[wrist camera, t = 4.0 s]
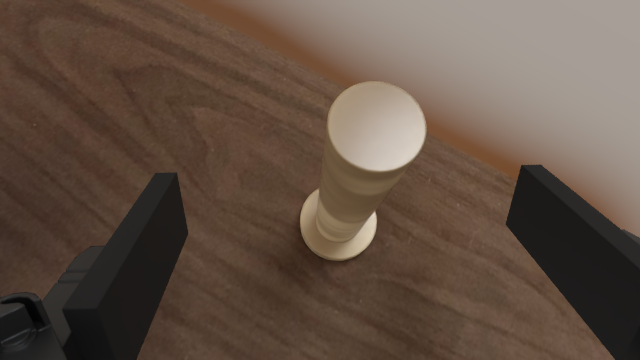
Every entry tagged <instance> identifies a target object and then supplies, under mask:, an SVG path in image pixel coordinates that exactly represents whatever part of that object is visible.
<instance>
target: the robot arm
mask: <svg viewBox="0 0 640 360" xmlns="http://www.w3.org/2000/svg"><path fill="white" fill-rule="evenodd" d="M506 225H507V227H508V228H509V229H510V230H511V232H512V233H513V234H514V235H515V236H516V238H517V239H518V240H519V241H520V243H521V244H522V245H523V246H524V248H525V249H526V250H527V251H528V253H529V254H530V255H531V256H532V257H533V259H534V260H535V261H536V262H537V264H538V265H539V266H540V267H541V269H542V270H543V271H544V272H545V273H546V275H547V276H548V277H549V278H550V280H551V281H552V282H553V283H554V285H555V286H556V287H557V288H558V289H559V291H560V292H561V293H562V294H563V296H564V297H565V298H566V299H567V301H568V302H569V303H570V304H571V305H572V307H573V308H574V309H575V310H576V312H577V313H578V314H579V315H580V317H581V318H582V319H583V320H584V322H585V323H586V324H587V325H588V326H589V328H590V329H591V330H592V331H593V333H594V334H595V335H596V336H597V338H598V339H599V340H600V341H601V342H602V344H603V345H604V346H605V347H606V349H607V350H608V351H609V352H610V354H611V355H612V356H613V357H614V358H615V360H640V238H639V237H637V236H635V235H633V234H631V233H630V232H628V231H626V230H621V229H620V228H618V227H617V226H616V225H615V224H613V223H612V222H611V221H610V220H609V219H607V218H606V217H605V216H604V215H602V214H601V213H599V211H597V210H596V209H595V208H594V207H592V206H591V205H590V204H589V203H587V202H586V201H585V200H584V199H583V198H581V197H580V196H579V195H578V194H576V193H575V192H574V191H572V190H571V189H570V188H569V187H568V186H566V185H565V184H564V183H563V182H562V181H560V180H559V179H558V178H557V177H555V176H554V175H553V174H552V173H550V172H549V171H548V170H547V169H545V168H544V167H543V166H542V165H522V166H521V169H520V173H519V176H518V180H517V184H516V187H515V191H514V195H513V199H512V202H511V206H510V210H509V213H508V217H507V221H506ZM187 235H188V229H187V224H186V219H185V213H184V208H183V203H182V198H181V192H180V187H179V182H178V177H177V173H155V175H154V176H153V178H152V179H151V181H150V182H149V183H148V185H147V186H146V188H145V189H144V191H143V192H142V194H141V195H140V196H139V198H138V199H137V201H136V202H135V204H134V205H133V207H132V208H131V209H130V211H129V212H128V214H127V215H126V217H125V218H124V220H123V221H122V222H121V224H120V225H119V227H118V228H117V230H116V231H115V233H114V234H113V235H112V237H111V238H110V240H109V241H108V243H107V244H106V246H91V247H89V248H88V249H86V250H85V251H84V252H82V253H81V254H80V255H78V256H77V257H75V259H74V260H73V261H72V263H71V264H70V265H69V267H68V268H67V269H66V272H64V273H63V274H62V276H61V277H60V278H59V280H58V283H56V284H55V285H54V286H53V287H52V289H51V290H50V291H49V293H48V294H47V295H46V297H45V298H44V299H43V300H42V302H41V299H40V298H39V297H38V296H37V295H36V294H33V293H28V292H21V293H13V294H10V295H7V296H3V297H0V360H136V359H137V356H138V354H139V352H140V349H141V347H142V344H143V342H144V339H145V337H146V335H147V332H148V330H149V327H150V325H151V322H152V320H153V318H154V315H155V313H156V310H157V308H158V306H159V303H160V301H161V298H162V296H163V293H164V291H165V289H166V286H167V284H168V281H169V279H170V276H171V274H172V272H173V269H174V267H175V264H176V262H177V259H178V257H179V255H180V252H181V250H182V247H183V245H184V243H185V240H186V238H187Z"/></svg>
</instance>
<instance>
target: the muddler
mask: <svg viewBox="0 0 640 360" xmlns="http://www.w3.org/2000/svg"><path fill="white" fill-rule="evenodd" d="M426 132H427V129H426V121H425V117H424V114H423V112H422V110H421V107H420V106H419V104H418V103H417V102H416V101H415V99H414V98H413V97H412V96H411V95H410V94H408V93H407V92H406V91H405V90H403V89H401V88H399V87H397V86H395V85H393V84H389V83H386V82H379V81H370V82H363V83H360V84H356V85H354V86H352V87H350V88H348V89H347V90H345V91H344V92H342V93H341V94H340V95H339V96H338V97H337V98H336V100H335V101H334V103H333V104H332V106H331V108H330V111H329V114H328V118H327V126H326V135H325V143H324V152H323V161H322V170H321V178H320V187H319V188H318V189H317V190H315V191H314V192H313V193H312V194H311V195H310V196H309V197H308V198H307V200H306V201H305V203H304V205H303V207H302V210H301V215H300V227H301V233H302V236H303V239H304V241H305V243H306V244H307V246H308V247H309V248H310V249H311V250H312V251H313V252H314V253H315V254H317V255H318V256H320V257H322V258H324V259H327V260H332V261H344V260H348V259H351V258H354V257H355V256H357V255H359V254H360V253H361V252H363V251H364V250H365V249H366V248H367V247H368V246H369V244H370V243H371V241H372V240H373V238H374V235H375V232H376V228H377V216H376V212H375V210H376V209H377V208H378V206H379V205H380V204H381V202H382V201H383V200H384V199H385V197H386V196H387V195H388V193H389V192H390V191H391V190H392V188H393V187H394V186H395V184H396V183H397V182H398V180H399V179H400V178H401V177H402V175H403V174H404V173H405V171H406V170H407V169H408V168H409V166H410V165H411V164H412V162H413V161H414V160H415V159H416V157H417V156H418V155H419V153H420V152H421V150H422V148H423V146H424V143H425V139H426Z"/></svg>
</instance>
